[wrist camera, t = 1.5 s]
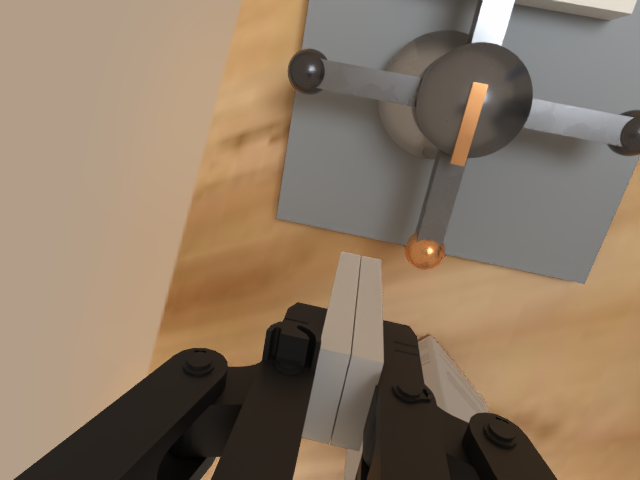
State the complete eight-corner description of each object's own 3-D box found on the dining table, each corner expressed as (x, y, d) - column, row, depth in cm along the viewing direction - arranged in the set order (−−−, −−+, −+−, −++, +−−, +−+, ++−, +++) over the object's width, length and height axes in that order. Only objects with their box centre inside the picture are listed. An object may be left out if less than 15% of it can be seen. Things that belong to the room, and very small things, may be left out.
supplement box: (348, 379, 40) (331, 536, 26) (430, 331, 37) (462, 477, 23) (405, 445, 41) (419, 628, 27) (488, 404, 39) (552, 582, 24)
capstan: (694, -58, 25) (797, -107, 19) (557, 276, 32) (599, 320, 26) (329, -117, 26) (313, -180, 20) (278, 217, 33) (255, 245, 27)
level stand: (701, -20, 27) (752, -38, 23) (575, 276, 34) (599, 298, 30) (325, -83, 28) (317, -109, 25) (280, 213, 35) (268, 227, 32)
